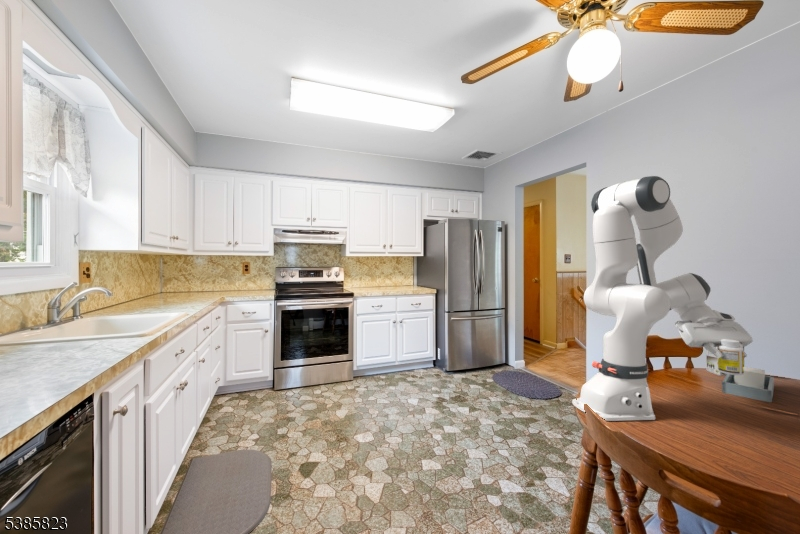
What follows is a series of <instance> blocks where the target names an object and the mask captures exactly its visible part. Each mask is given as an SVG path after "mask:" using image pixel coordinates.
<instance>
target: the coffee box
mask: <svg viewBox="0 0 800 534" xmlns="http://www.w3.org/2000/svg"><path fill="white" fill-rule="evenodd" d="M715 348H716V349H718V347H715ZM743 350H744V351H745V347H743ZM743 367H745V358H743ZM706 371H707V372H709V373H712V374H714V375H717V376H724V377H725V376H726V375H727V374H725V373H722V372H720V371H719V370H718V358H717V357H716V356H715V355H714V354H713V353H711V352H709V351H708V350H706Z"/></svg>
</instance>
